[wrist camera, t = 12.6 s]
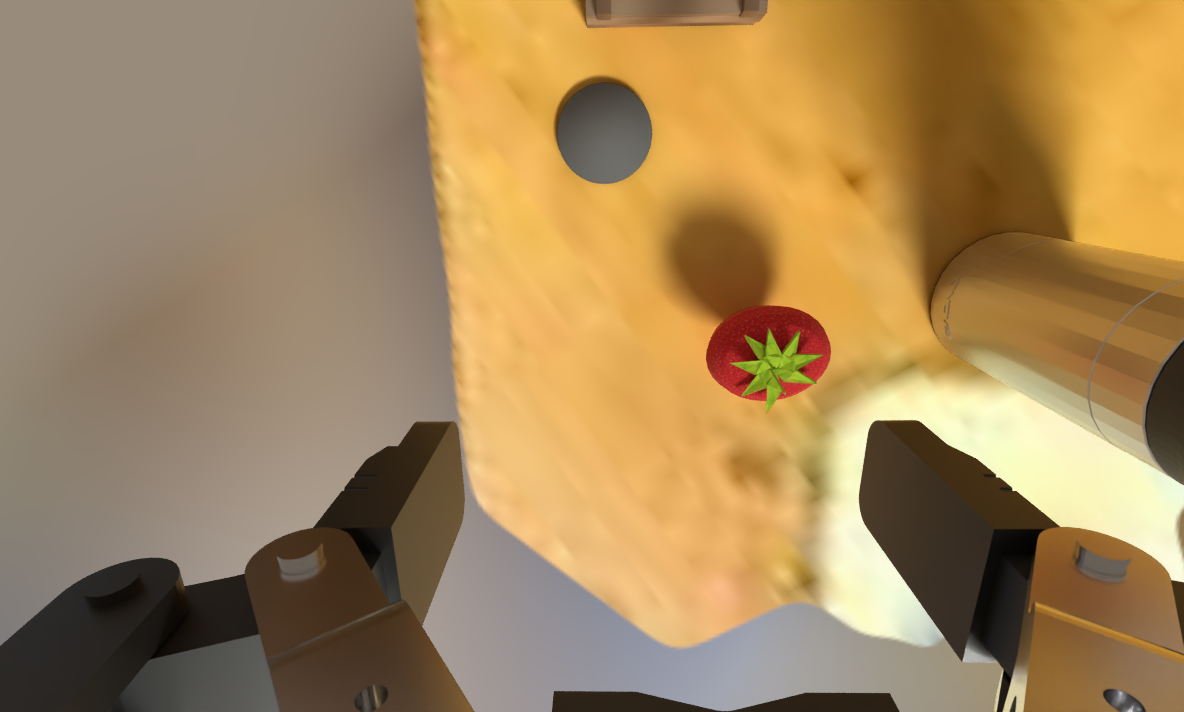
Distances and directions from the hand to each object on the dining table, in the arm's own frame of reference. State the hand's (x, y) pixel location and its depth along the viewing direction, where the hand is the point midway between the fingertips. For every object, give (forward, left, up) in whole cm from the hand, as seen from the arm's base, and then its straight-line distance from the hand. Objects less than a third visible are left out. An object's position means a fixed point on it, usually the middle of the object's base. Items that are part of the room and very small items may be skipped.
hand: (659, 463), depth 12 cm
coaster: (+1, -7, -30) cm, 31 cm away
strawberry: (-9, +6, -30) cm, 32 cm away
